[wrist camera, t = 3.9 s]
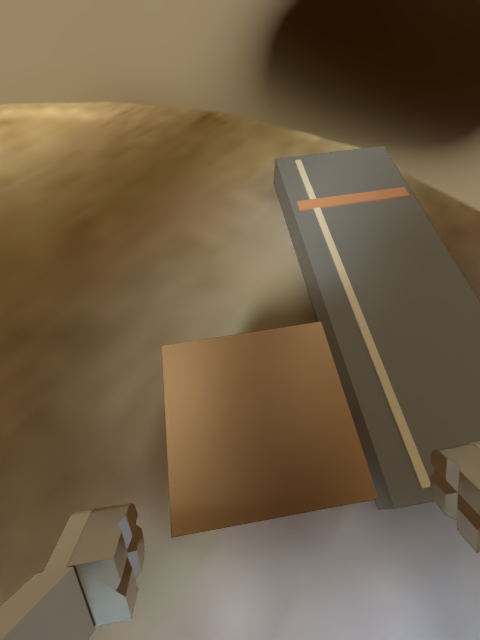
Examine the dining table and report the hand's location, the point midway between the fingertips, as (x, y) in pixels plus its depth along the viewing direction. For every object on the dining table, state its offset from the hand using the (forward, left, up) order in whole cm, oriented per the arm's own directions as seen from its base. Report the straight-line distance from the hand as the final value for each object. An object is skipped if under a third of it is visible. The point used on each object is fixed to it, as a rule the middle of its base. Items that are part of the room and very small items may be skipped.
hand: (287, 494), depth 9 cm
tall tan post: (-1, +2, -7) cm, 7 cm away
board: (+8, +10, -7) cm, 15 cm away
